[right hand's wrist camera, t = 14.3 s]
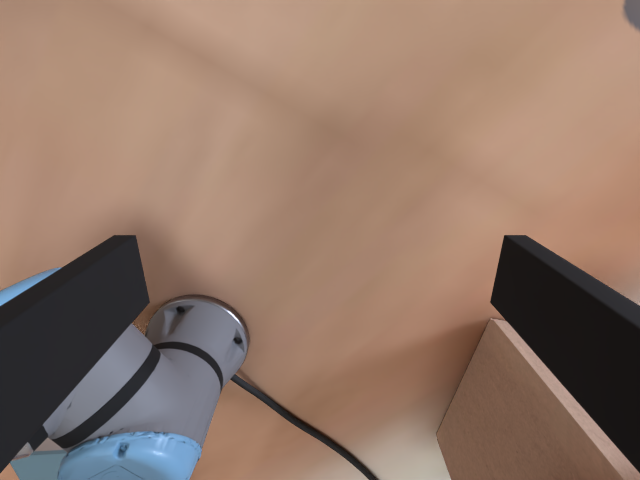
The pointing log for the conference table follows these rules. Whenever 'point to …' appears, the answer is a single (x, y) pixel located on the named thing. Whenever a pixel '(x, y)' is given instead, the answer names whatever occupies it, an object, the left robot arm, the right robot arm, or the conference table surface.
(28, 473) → the book
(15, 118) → the conference table surface
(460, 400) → the box
